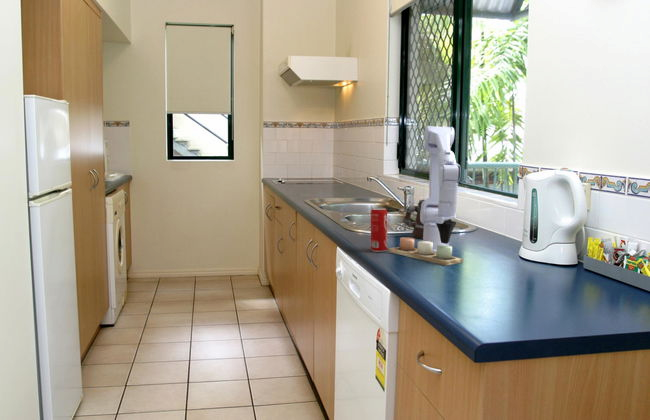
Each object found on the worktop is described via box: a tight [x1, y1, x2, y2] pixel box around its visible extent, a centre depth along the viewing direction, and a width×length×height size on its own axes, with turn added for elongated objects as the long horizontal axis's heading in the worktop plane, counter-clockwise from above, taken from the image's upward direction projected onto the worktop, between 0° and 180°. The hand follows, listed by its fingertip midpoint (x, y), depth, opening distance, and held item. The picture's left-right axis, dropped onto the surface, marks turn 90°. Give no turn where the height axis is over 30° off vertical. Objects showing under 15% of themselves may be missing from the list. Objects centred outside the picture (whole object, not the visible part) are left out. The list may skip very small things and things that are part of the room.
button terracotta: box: [399, 236, 416, 250], centre depth 213 cm, size 5×5×4 cm
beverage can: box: [370, 207, 388, 253], centre depth 214 cm, size 6×6×15 cm
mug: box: [403, 199, 438, 240], centre depth 246 cm, size 16×12×15 cm
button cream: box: [417, 240, 433, 254], centre depth 207 cm, size 5×5×4 cm
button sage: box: [435, 245, 453, 258], centre depth 201 cm, size 5×5×4 cm
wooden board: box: [387, 246, 464, 266], centre depth 207 cm, size 9×25×1 cm, turn 41°
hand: (444, 243), depth 201 cm, fingers closed
